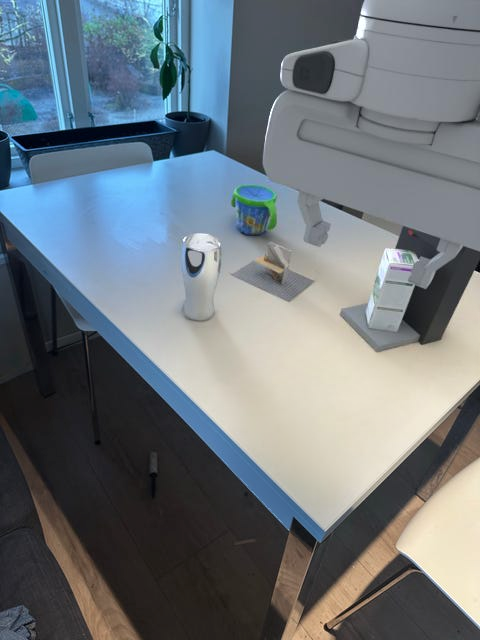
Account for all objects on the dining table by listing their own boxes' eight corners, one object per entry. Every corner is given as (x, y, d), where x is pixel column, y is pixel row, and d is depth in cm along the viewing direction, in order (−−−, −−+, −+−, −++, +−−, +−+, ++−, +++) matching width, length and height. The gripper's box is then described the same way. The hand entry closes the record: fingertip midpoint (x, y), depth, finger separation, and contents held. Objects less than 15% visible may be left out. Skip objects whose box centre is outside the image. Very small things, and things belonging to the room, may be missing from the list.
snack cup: (284, 239, 114) (291, 201, 108) (250, 246, 109) (255, 207, 103) (251, 214, 124) (256, 178, 118) (218, 220, 119) (221, 183, 113)
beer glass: (194, 327, 82) (198, 255, 73) (173, 308, 86) (174, 238, 77) (224, 314, 86) (231, 245, 77) (202, 297, 90) (206, 229, 81)
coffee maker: (380, 355, 81) (434, 217, 65) (336, 311, 91) (374, 181, 74) (440, 339, 87) (504, 208, 70) (394, 299, 96) (440, 176, 80)
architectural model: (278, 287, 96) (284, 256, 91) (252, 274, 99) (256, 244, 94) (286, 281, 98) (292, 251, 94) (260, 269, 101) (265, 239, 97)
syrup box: (397, 333, 84) (424, 267, 76) (366, 328, 85) (389, 262, 76) (392, 315, 89) (417, 251, 80) (363, 311, 89) (384, 246, 80)
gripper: (604, 103, 27) (502, 294, 35) (306, 50, 35) (282, 213, 44) (598, 119, 22) (484, 332, 31) (262, 54, 31) (245, 234, 40)
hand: (364, 261), depth 37 cm, fingers open, 8 cm apart
